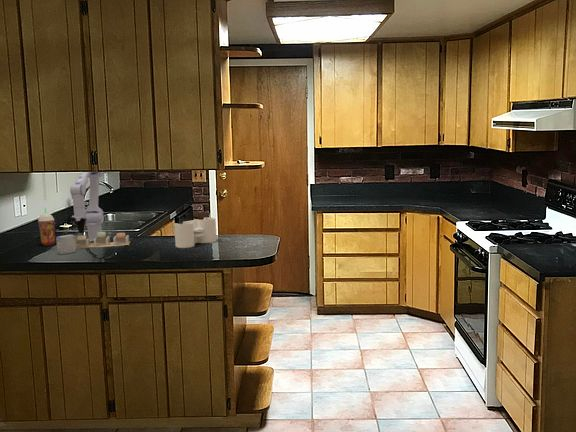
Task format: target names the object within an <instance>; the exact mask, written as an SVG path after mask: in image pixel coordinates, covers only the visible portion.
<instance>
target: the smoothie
mask: <svg viewBox="0 0 576 432" xmlns="http://www.w3.org/2000/svg"><path fill="white" fill-rule="evenodd" d="M37 221H38V222H37V223H38V229H39V235H40V241H41V242H40V243H41V244H42V245H43V246H52V245H55V243H56V242H55V241H56V233H55V232H56V229H55V227H56V226H55V218H54V217H53V215H52V214H51V213H49V212H47V209H46V207H44V213H42V214H40V215H39V217H38V219H37Z"/></svg>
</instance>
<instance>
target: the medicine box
mask: <svg viewBox="0 0 576 432" xmlns="http://www.w3.org/2000/svg"><path fill="white" fill-rule="evenodd" d="M75 239H76V235H75V234H66V235H60V236H55V241H56V249H57V250H56V251H57V255H61V256H63V255H67V254H72V253H77V249H76V243H75Z"/></svg>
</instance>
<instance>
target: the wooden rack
mask: <svg viewBox="0 0 576 432" xmlns="http://www.w3.org/2000/svg"><path fill="white" fill-rule="evenodd" d="M75 243H76V250H80V249H81V250H82V249H98V248H111V247H113V246H114V247H125V245H128V246H130V243H131V240H130V235H129V234H127V235H126V234H125V237H121V238H117V235H115V236H114V237H113V241H112V242H111V239H110V236H109V235H108V236H106V238H105V239H97V237H95V238H94V241H93V243H91V241H90V238H88V237H86V240H78V239H77V238H76V237H75ZM114 247H113V248H114Z"/></svg>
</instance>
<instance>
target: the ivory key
mask: <svg viewBox="0 0 576 432" xmlns="http://www.w3.org/2000/svg"><path fill="white" fill-rule="evenodd" d="M76 237H77V239H78V240H86V238H87V235H86V234H83V235H82V234H81V235H80V234H79V235H76Z"/></svg>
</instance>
